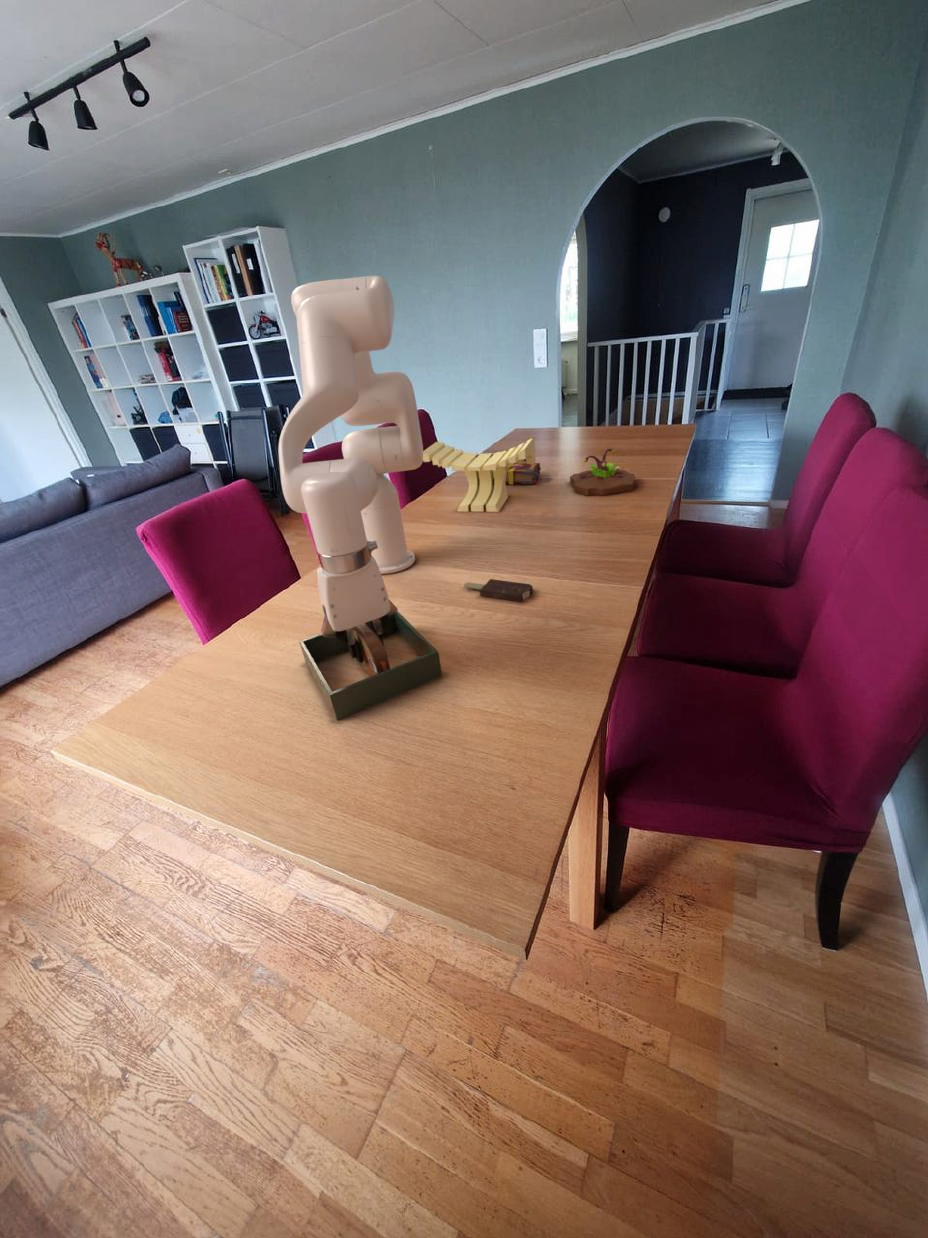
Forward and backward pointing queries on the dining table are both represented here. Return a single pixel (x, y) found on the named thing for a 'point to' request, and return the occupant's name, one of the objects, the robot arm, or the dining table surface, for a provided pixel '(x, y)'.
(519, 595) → the ice cream bar
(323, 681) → the box
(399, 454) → the robot arm
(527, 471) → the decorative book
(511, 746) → the dining table surface
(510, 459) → the slatted curved stool
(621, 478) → the plant
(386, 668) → the tin
